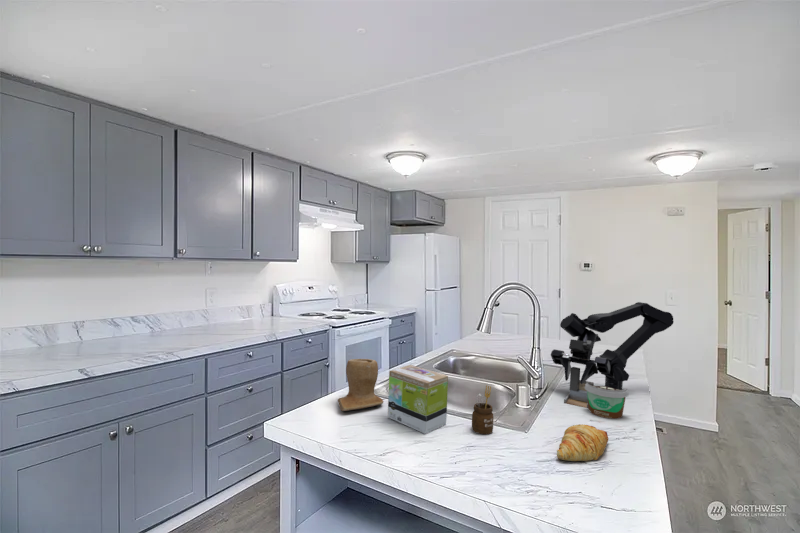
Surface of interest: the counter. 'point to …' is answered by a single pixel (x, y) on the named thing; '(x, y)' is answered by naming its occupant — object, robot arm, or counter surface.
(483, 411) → the utensil holder
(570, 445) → the croissant
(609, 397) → the food container
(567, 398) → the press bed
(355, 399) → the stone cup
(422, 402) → the tea box
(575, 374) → the block
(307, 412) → the counter surface
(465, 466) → the counter surface
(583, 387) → the nut
